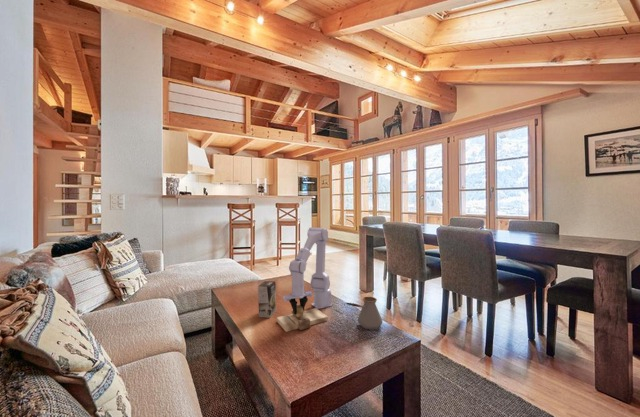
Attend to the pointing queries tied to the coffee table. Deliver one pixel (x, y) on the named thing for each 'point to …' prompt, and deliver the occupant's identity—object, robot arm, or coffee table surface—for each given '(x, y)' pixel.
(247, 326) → the coffee table surface
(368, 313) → the coffee pot
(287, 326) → the pine board
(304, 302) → the robot arm
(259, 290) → the coffee box
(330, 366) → the coffee table surface
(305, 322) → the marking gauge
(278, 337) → the coffee table surface
